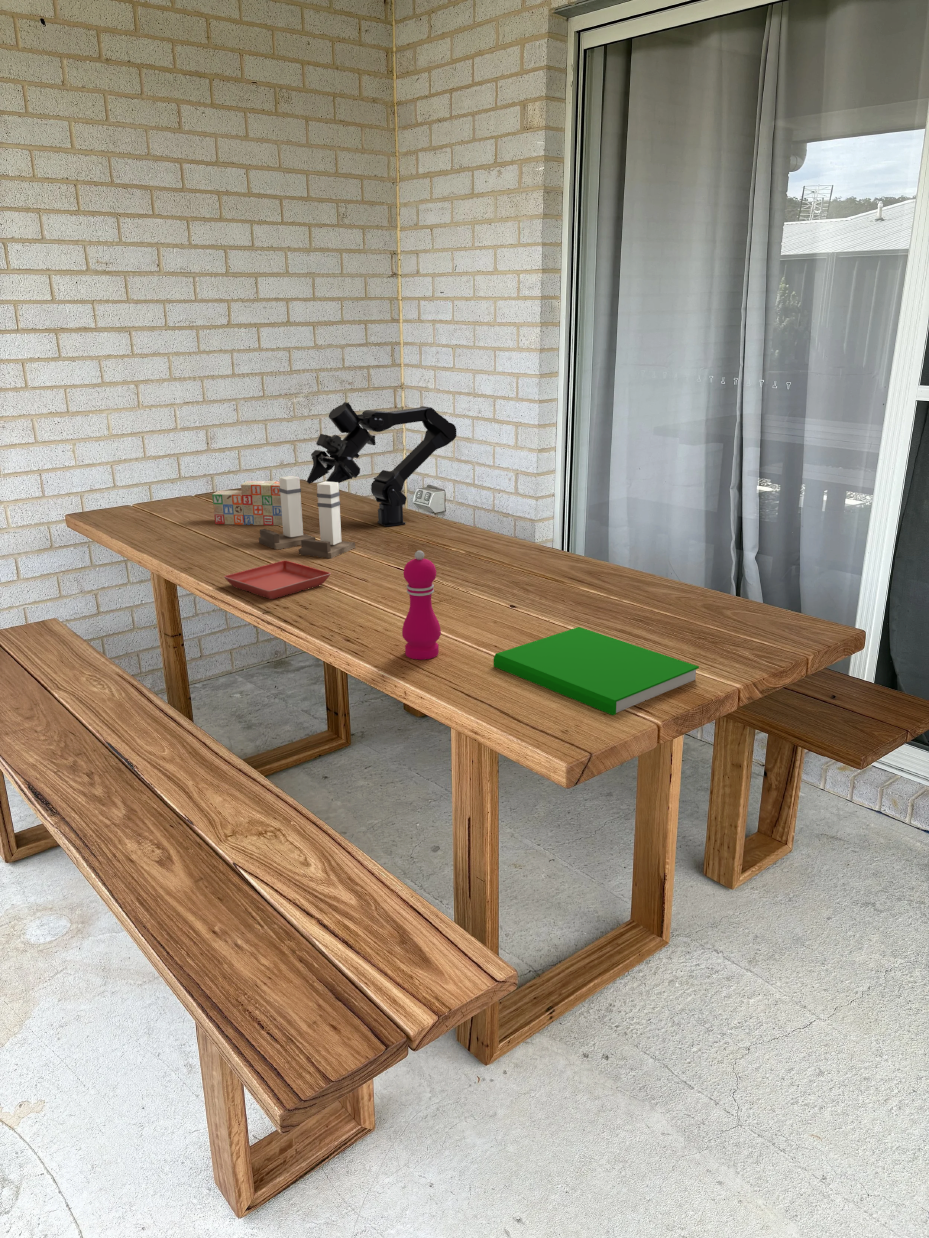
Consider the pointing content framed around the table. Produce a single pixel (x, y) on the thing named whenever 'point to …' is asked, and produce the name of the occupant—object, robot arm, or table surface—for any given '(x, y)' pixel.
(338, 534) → the post
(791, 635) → the table surface
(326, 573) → the plant saucer
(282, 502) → the post
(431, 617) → the pepper mill
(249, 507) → the stack of blocks
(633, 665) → the book
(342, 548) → the base
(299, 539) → the base
